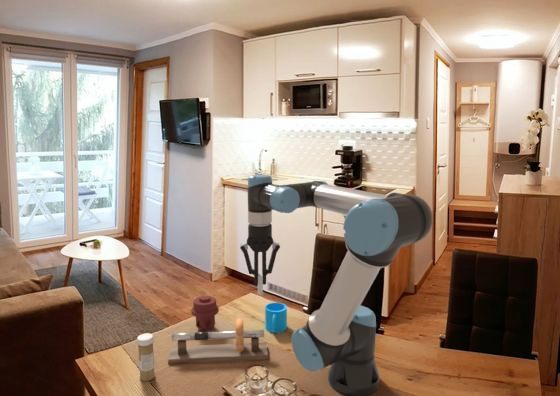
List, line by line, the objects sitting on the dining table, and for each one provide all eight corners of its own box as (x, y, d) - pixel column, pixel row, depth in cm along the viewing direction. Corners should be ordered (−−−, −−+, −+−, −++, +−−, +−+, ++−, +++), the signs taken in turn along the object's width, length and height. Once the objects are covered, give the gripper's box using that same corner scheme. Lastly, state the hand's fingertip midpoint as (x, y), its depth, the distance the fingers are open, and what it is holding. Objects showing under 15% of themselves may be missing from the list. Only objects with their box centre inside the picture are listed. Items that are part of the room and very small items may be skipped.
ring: (243, 351, 141) (243, 328, 139) (236, 352, 140) (235, 329, 139) (243, 339, 148) (243, 317, 147) (236, 339, 148) (236, 317, 147)
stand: (267, 359, 142) (267, 342, 141) (168, 363, 139) (167, 347, 138) (266, 346, 150) (266, 331, 149) (172, 350, 147) (171, 334, 146)
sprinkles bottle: (141, 373, 134) (138, 333, 131) (156, 372, 134) (154, 332, 132) (138, 382, 129) (135, 340, 127) (153, 381, 130) (151, 339, 127)
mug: (266, 321, 168) (266, 302, 166) (287, 322, 167) (287, 303, 166) (262, 337, 156) (262, 316, 155) (284, 338, 155) (285, 317, 154)
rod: (263, 335, 146) (263, 328, 145) (264, 338, 143) (264, 331, 143) (173, 338, 143) (172, 331, 143) (171, 342, 141) (171, 335, 140)
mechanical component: (196, 321, 168) (221, 323, 167) (188, 334, 158) (215, 335, 157) (195, 291, 166) (221, 292, 165) (187, 302, 156) (214, 303, 155)
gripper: (279, 220, 142) (279, 288, 146) (239, 221, 141) (240, 289, 145) (281, 226, 134) (281, 297, 139) (239, 226, 133) (240, 298, 138)
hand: (260, 293), depth 142 cm, fingers closed
